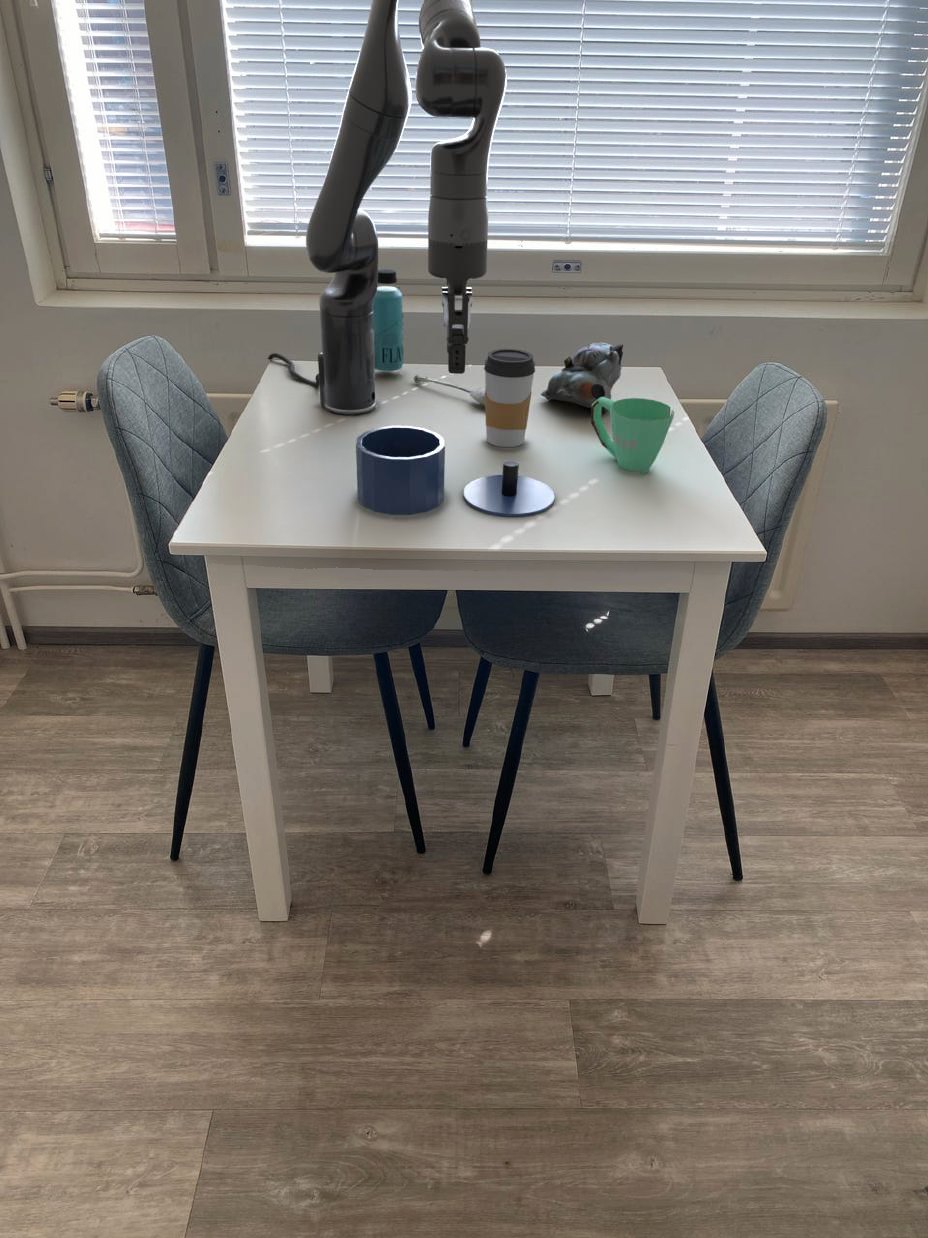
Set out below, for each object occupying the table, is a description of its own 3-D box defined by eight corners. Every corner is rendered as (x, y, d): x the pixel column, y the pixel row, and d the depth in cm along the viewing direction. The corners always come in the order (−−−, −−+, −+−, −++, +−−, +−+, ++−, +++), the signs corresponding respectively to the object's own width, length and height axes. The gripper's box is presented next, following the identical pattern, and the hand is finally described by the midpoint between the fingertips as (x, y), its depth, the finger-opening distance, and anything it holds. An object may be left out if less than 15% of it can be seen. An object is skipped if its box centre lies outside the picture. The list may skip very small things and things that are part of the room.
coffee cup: (525, 455, 148) (532, 365, 140) (476, 449, 149) (480, 360, 141) (532, 437, 155) (539, 350, 147) (485, 432, 156) (489, 345, 148)
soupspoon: (493, 417, 164) (514, 410, 169) (495, 399, 162) (517, 392, 167) (405, 385, 175) (427, 379, 179) (406, 368, 173) (428, 362, 178)
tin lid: (465, 520, 127) (466, 482, 124) (461, 480, 139) (462, 444, 136) (560, 521, 128) (563, 483, 125) (548, 481, 140) (551, 445, 136)
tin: (356, 518, 127) (353, 458, 122) (360, 481, 137) (358, 425, 133) (444, 518, 128) (446, 459, 123) (442, 481, 138) (443, 426, 133)
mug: (676, 470, 145) (687, 410, 139) (638, 486, 139) (648, 424, 134) (607, 443, 154) (614, 386, 148) (568, 457, 148) (574, 398, 143)
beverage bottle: (379, 380, 178) (376, 274, 167) (366, 370, 183) (363, 267, 172) (409, 376, 180) (408, 272, 169) (395, 366, 185) (394, 265, 174)
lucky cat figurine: (533, 394, 173) (562, 325, 170) (587, 418, 176) (616, 350, 174) (555, 397, 159) (587, 322, 156) (613, 424, 162) (645, 350, 160)
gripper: (428, 224, 119) (428, 347, 127) (428, 245, 107) (428, 379, 115) (484, 225, 119) (480, 348, 128) (490, 246, 107) (486, 379, 116)
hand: (455, 362), depth 122 cm, fingers open, 8 cm apart
